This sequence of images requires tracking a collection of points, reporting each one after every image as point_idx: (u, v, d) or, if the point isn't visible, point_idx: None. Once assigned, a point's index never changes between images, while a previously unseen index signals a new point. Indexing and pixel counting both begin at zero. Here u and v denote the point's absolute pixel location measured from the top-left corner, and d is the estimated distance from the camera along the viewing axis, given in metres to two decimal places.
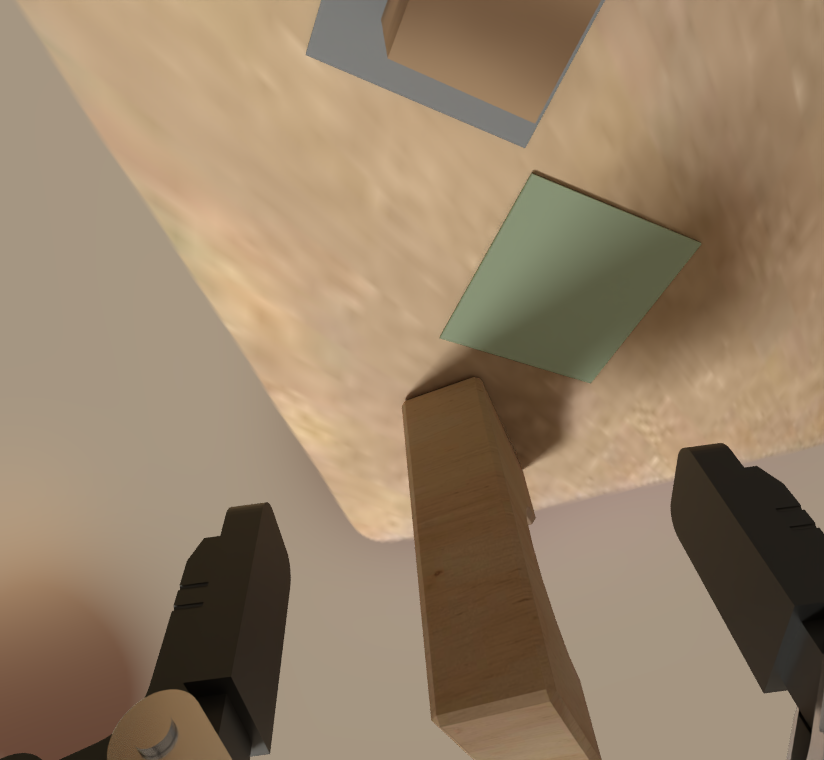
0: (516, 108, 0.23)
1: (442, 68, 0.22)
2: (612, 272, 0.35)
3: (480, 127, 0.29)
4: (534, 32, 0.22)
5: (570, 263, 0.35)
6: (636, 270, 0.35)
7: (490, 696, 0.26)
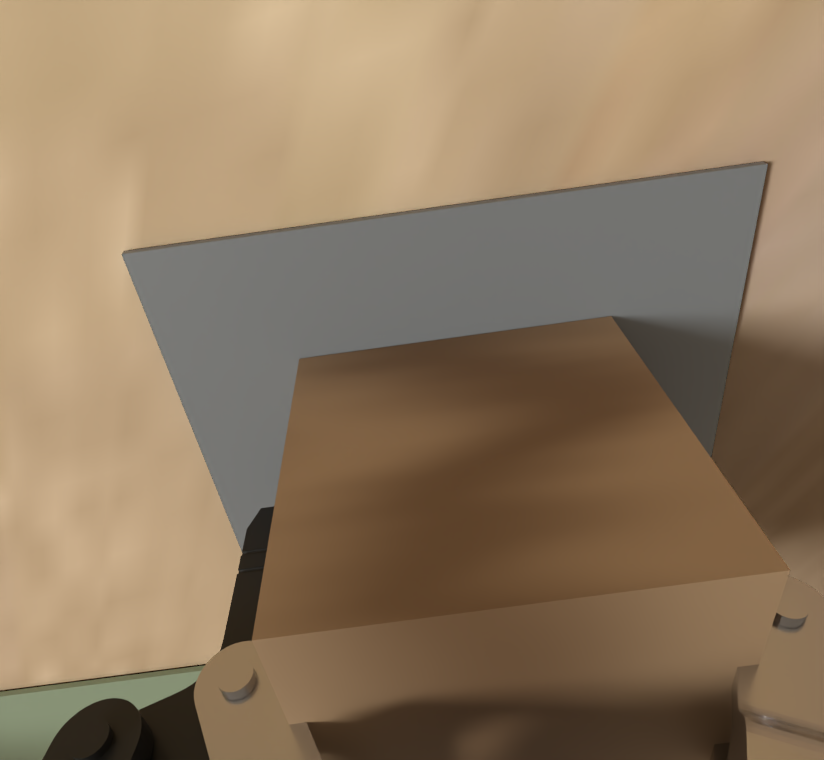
0: None
1: (324, 724, 0.08)
2: None
3: None
4: None
5: None
6: None
7: None
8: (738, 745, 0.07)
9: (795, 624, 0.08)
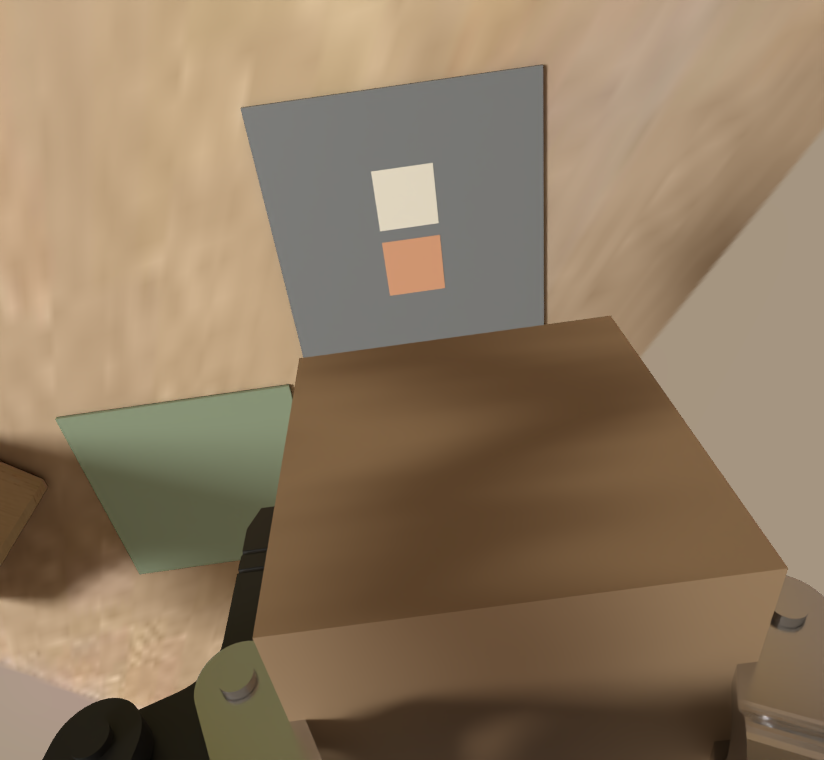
0: None
1: (324, 722, 0.08)
2: (257, 508, 0.33)
3: (294, 316, 0.27)
4: None
5: (237, 472, 0.32)
6: None
7: None
8: (738, 745, 0.07)
9: (795, 624, 0.08)
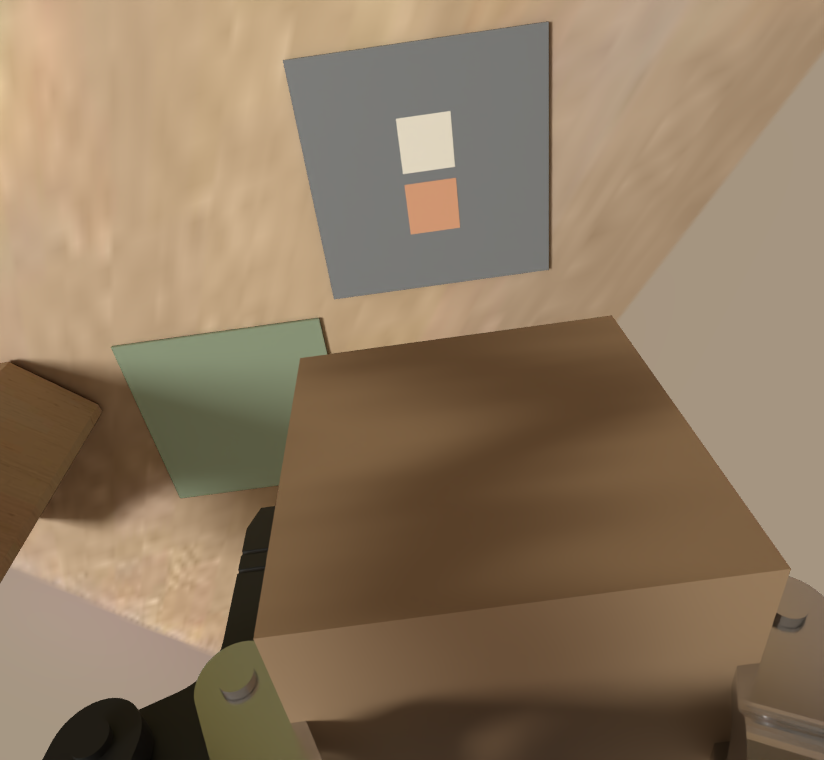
0: None
1: (325, 722, 0.08)
2: None
3: (325, 253, 0.30)
4: None
5: (270, 400, 0.35)
6: None
7: None
8: (738, 745, 0.07)
9: (795, 624, 0.08)
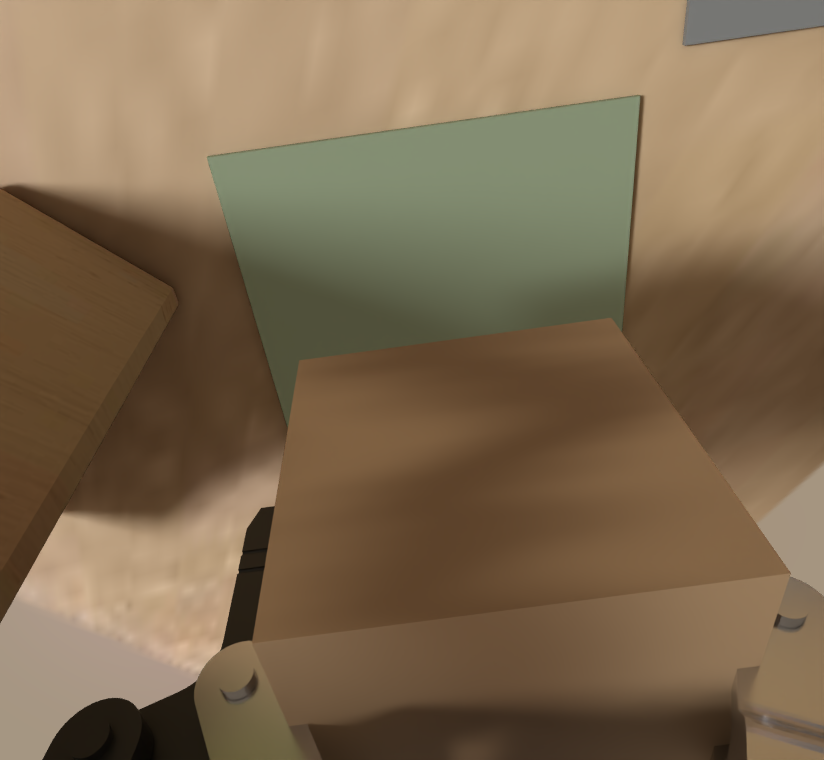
0: None
1: (324, 726, 0.08)
2: None
3: None
4: None
5: (500, 285, 0.18)
6: None
7: None
8: (738, 745, 0.07)
9: (795, 624, 0.08)
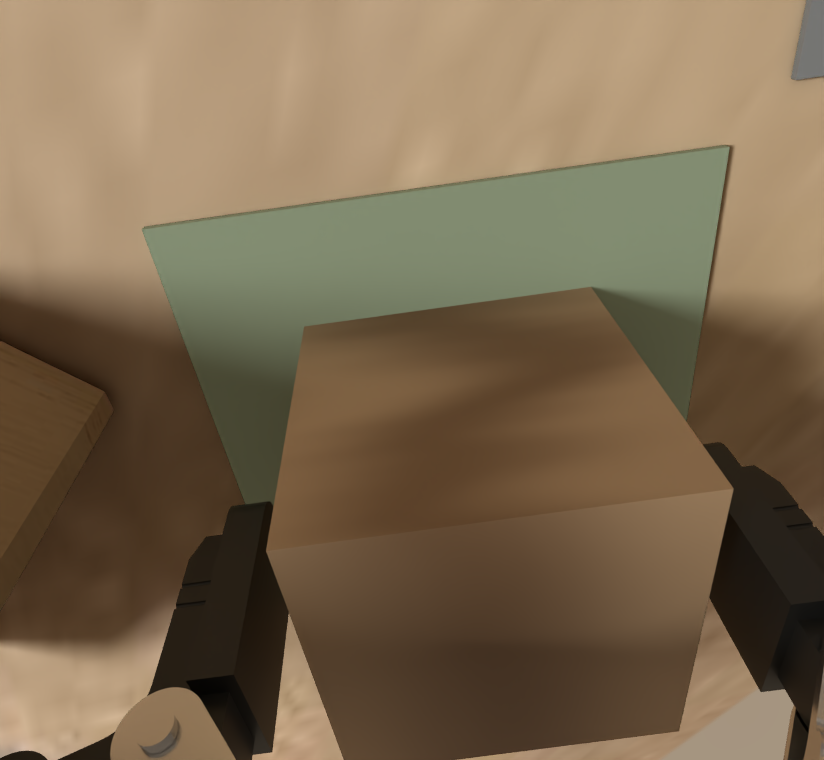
0: (352, 746, 0.11)
1: (328, 635, 0.09)
2: None
3: None
4: (489, 707, 0.10)
5: None
6: None
7: None
8: None
9: None
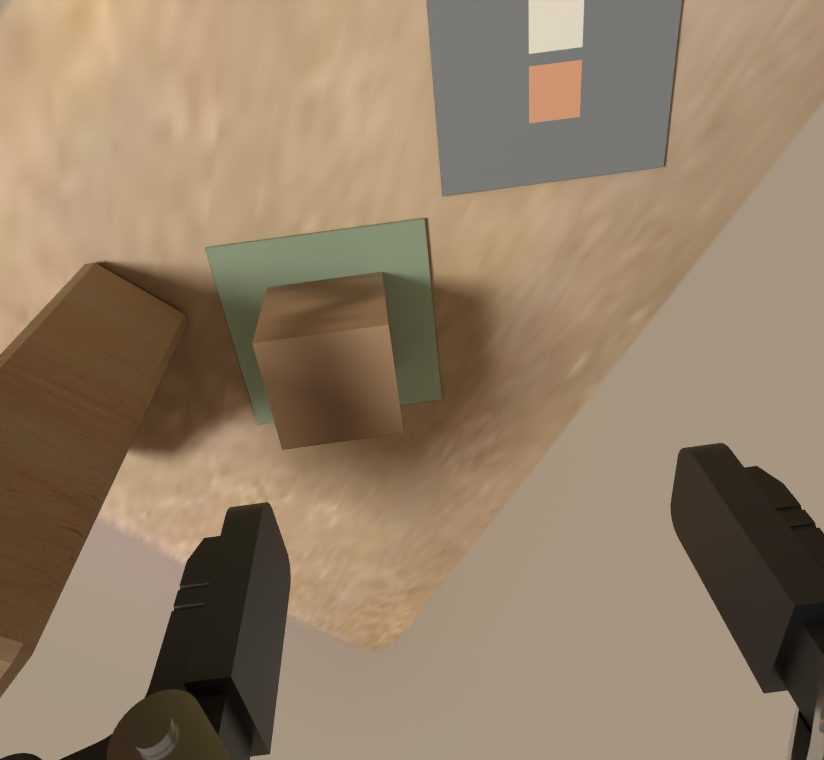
0: (282, 434, 0.30)
1: (272, 378, 0.28)
2: None
3: (440, 143, 0.29)
4: (330, 415, 0.30)
5: None
6: None
7: None
8: None
9: None
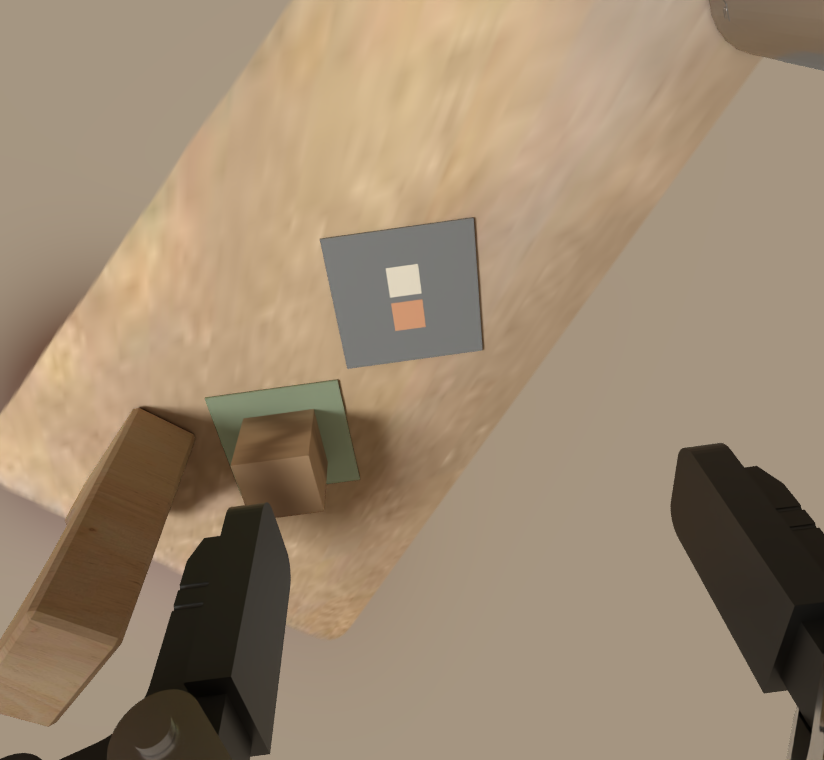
0: None
1: (242, 483, 0.48)
2: None
3: (342, 342, 0.49)
4: (278, 502, 0.50)
5: None
6: None
7: (80, 621, 0.36)
8: None
9: None
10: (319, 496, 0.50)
